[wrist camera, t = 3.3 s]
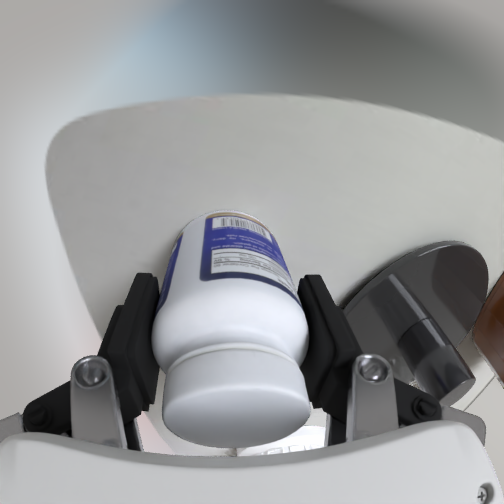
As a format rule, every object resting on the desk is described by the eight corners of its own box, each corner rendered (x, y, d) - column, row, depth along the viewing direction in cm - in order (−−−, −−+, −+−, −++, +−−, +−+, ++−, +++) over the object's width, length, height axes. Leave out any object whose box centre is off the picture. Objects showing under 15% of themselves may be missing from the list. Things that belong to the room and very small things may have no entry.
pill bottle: (217, 312, 16) (220, 463, 8) (152, 248, 13) (97, 408, 6) (297, 264, 15) (358, 417, 7) (239, 184, 12) (268, 333, 5)
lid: (350, 229, 14) (427, 323, 8) (502, 240, 16) (558, 289, 9) (299, 396, 21) (317, 470, 15) (433, 369, 23) (461, 419, 17)
